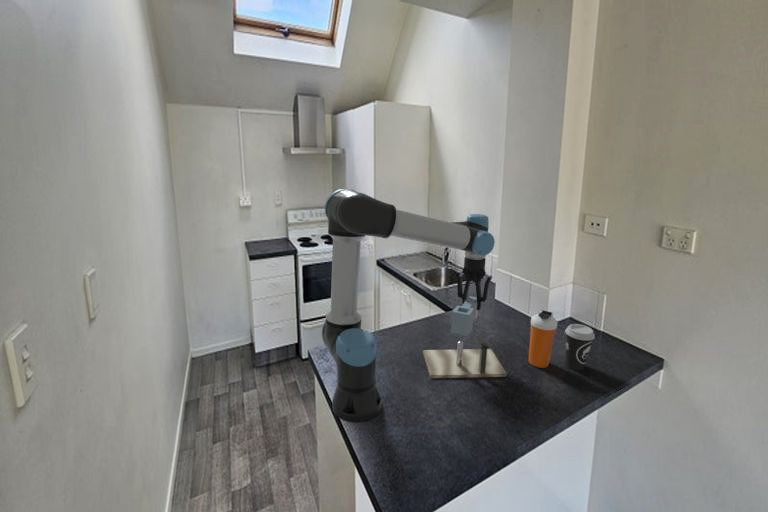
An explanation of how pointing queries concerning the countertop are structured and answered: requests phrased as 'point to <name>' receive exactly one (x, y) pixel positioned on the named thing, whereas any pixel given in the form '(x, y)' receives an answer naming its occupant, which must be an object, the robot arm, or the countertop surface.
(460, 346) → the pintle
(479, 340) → the post
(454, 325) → the link
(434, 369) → the board
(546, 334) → the shaker bottle
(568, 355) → the coffee cup
